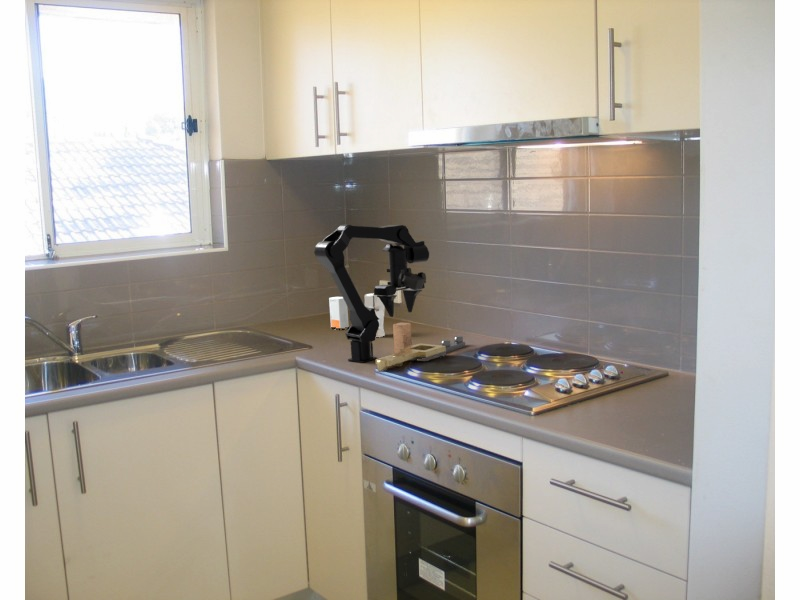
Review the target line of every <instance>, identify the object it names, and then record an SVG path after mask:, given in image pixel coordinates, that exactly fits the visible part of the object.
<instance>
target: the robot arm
mask: <svg viewBox="0 0 800 600" xmlns="http://www.w3.org/2000/svg"><path fill="white" fill-rule="evenodd" d="M407 227H408V226H406V225H403V224H389V225H382V226H377V227H376V226H360V225H351V224H341V225H339V226H338V227H337V228H336V229H335V230H334V231H332V233H330V234H329V235H327V236H326V237H324V239H323V240H322V241H319V242H317V244H316V245H315V247H314V250H313V251H314V252H313V253H314V255H315V258H316V260H318V261H319V263H320V264H321V265H322V266H323V267H324V268H325V269H326V270H327V271H328V272H329V273H330V275H331V277H332V279H333V281H334V283H335V284H336V287H337V289H338V291H339V293H340V294H341V297H343V299H344V301H345V302H346V304H347V308H348V310H349V321H350V324H351V325H350V326H349V329H347V331H346V332H345V337H346V339H347V340H350V352H351V354H350V355H351V357H350V358H348V359H347V361H348V362H354V363H355V362H356V363H366V362H367V363H368V362H370V361H372V360H375V359H378V358H377V356H374V345H373V342H374V341H376V339H377V338H376V334H377V331H378V328H379V322H378V320H379V318H378V317H377V315H376V313H375V310H374V309H373V308H369V307H365V303H364V302H363V300H362V298H361V296H360V294H359V292H358V290H357V288H356V286H355V284H354V281H353V280H352V277H351V275H350V274H349V272H348V270H347V268H346V264H345V263H346V262H345V259H346V258H345V254H344V251H345V250H346V249H347V248H348V246H349V244H350V242H351V240H352V239H373V240H379V241H381V242H385V243H386V246H384V247H383V248H382V252H383V253H384V252H387V253H388V266H389V268H386V272H387V273H389V281H387V282H386V283H387V284H379V285H375V286H374V287H373V293H374V295H377V297H379V298H380V300H381V302H382V303H383V305H384V306H385V310H386V312H387V313H388V316H389V317H390V318H393V317H394V314H395V313H394V311H395V310H394V309H395V307H394V306H395V299H396V297H397V295H396V294H397V291H401V290H402V293H403V297H404V301H405V305H406V309H407V312H408V313H412V312H413V309H414V305H415V302H416V299H417V296H418V294H420V293H421V292H423V289H425V284H426V283H427V274H426V272H423V271H420V272H417V273H413V272H412V269H411V267H408V264H419V263H425V262H427V261H428V260H429V258H430V251H429V248H428V247H427V245H426V243H425V240H418V241H417V240H416V241H415V239H414V237H412V235H411V234H410V231H409V228H407ZM393 244H394V245H393Z"/></svg>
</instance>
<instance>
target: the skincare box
mask: <svg viewBox="0 0 800 600" xmlns="http://www.w3.org/2000/svg"><path fill="white" fill-rule="evenodd" d="M328 300H329V301H328V302H329V303H328V305H329V318H330V319H329V320H330V328H331V327H336V328H345V327H349V328H350V326H349V311H348V310H349V308H348V306H347V304H346V302H345V301H344V299H343V297H342V296H332V297H329V298H328Z"/></svg>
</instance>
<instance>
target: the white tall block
mask: <svg viewBox="0 0 800 600" xmlns="http://www.w3.org/2000/svg"><path fill="white" fill-rule="evenodd" d="M364 305H365V307H369V308H373V309H374V310H375V313H376V315H377V317H378V318H379V320H378V322H379V328H378V331H377V334H376V337H379V338H384V337H385V336H386V333H385V330H384V319H385V310H386V308H385V306H384V305H383V303H382V302H381V300H380V298H379V297H377V295H374V292H370V293H365V294H364ZM383 336H384V337H383Z"/></svg>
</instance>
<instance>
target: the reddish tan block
mask: <svg viewBox="0 0 800 600" xmlns="http://www.w3.org/2000/svg"><path fill="white" fill-rule="evenodd" d="M392 332H393V333H392V334H393V348H394V351H393V352H394V353H393V354H395V353H398V352H400V350H399V349H403V348H406V347H409V346H413V345H412V323H411V322H397V323H393V324H392Z"/></svg>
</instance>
